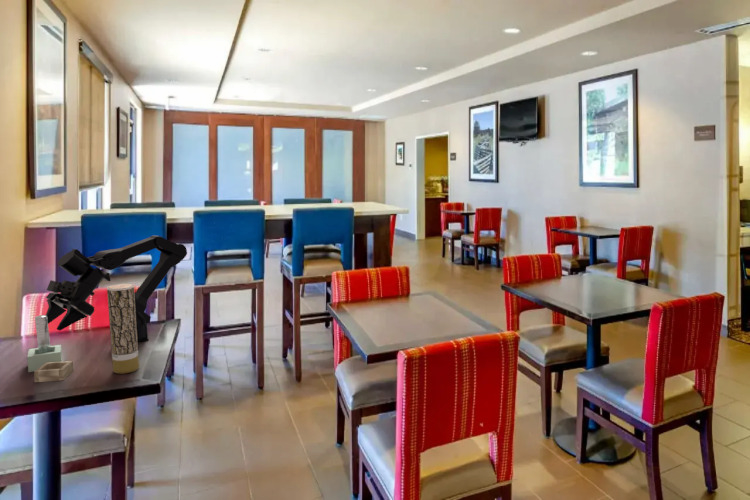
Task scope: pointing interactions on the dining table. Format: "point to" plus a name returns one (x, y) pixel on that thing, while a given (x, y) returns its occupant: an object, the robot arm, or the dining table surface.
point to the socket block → (43, 357)
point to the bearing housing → (53, 371)
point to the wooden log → (123, 328)
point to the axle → (42, 334)
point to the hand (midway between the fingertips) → (50, 327)
